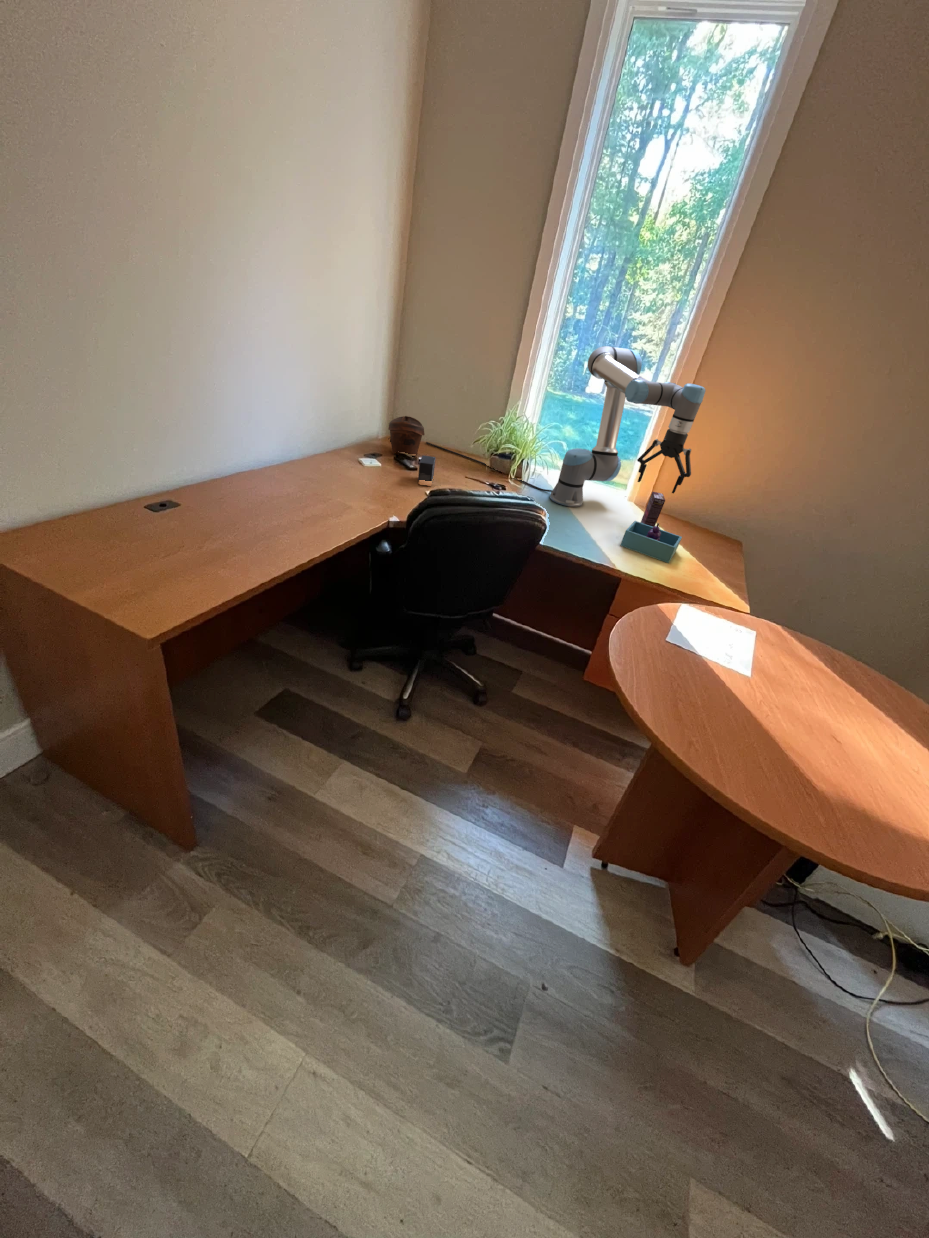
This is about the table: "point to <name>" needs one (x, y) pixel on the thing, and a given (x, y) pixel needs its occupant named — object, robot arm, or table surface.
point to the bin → (650, 542)
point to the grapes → (654, 533)
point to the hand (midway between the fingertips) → (655, 486)
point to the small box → (426, 468)
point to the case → (405, 434)
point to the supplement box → (653, 509)
